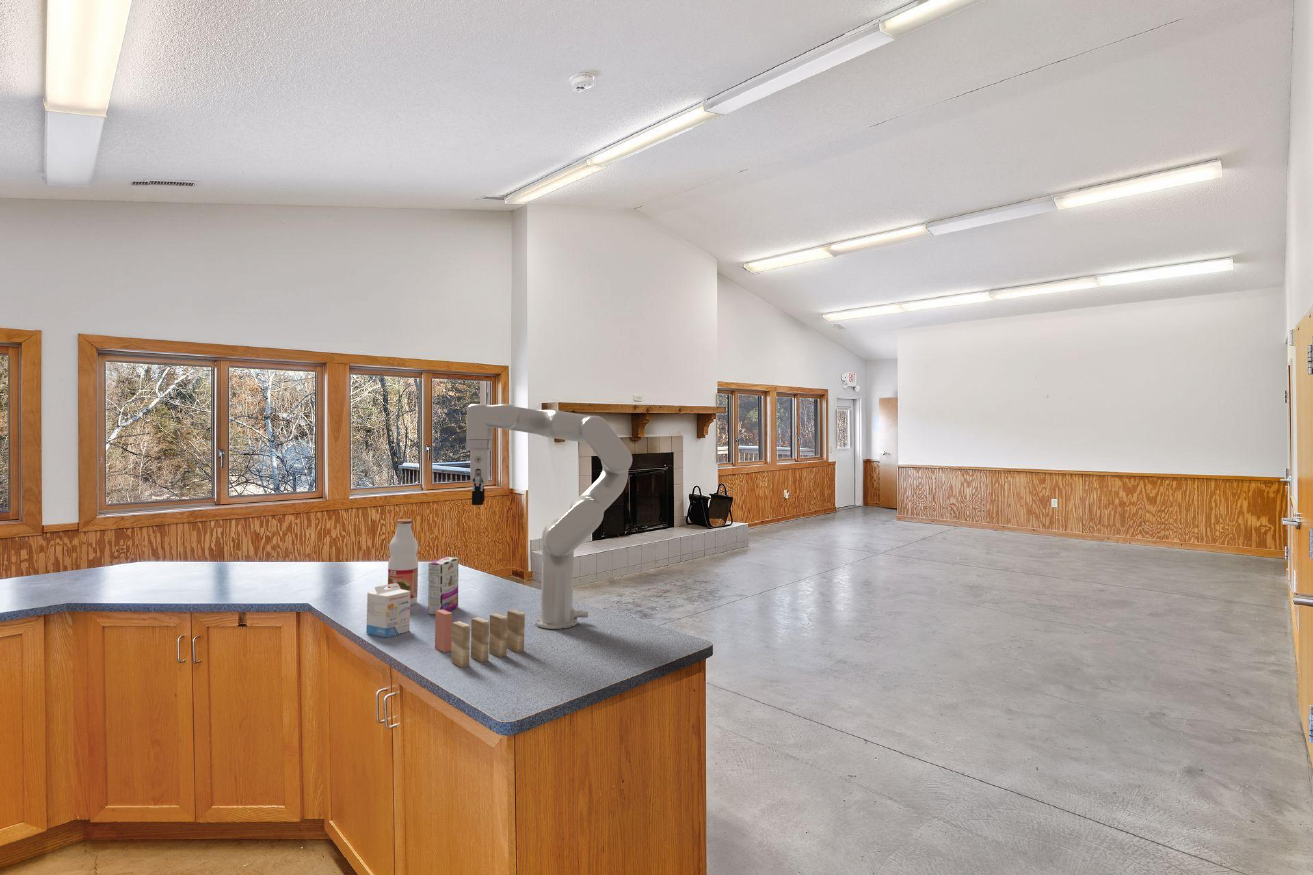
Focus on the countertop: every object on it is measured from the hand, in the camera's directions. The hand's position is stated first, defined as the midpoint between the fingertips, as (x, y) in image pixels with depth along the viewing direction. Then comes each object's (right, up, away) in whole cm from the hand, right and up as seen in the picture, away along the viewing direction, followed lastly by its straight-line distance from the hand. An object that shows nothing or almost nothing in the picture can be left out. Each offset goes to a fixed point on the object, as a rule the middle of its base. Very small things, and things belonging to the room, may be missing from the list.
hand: (478, 503), depth 200 cm
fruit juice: (-32, -36, +25) cm, 54 cm away
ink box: (-24, -37, -7) cm, 44 cm away
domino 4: (+11, -37, -24) cm, 46 cm away
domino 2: (+4, -37, -32) cm, 49 cm away
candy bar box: (-16, -37, +17) cm, 43 cm away
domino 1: (-4, -37, -21) cm, 43 cm away
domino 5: (+15, -37, -20) cm, 45 cm away
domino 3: (+8, -37, -28) cm, 47 cm away
